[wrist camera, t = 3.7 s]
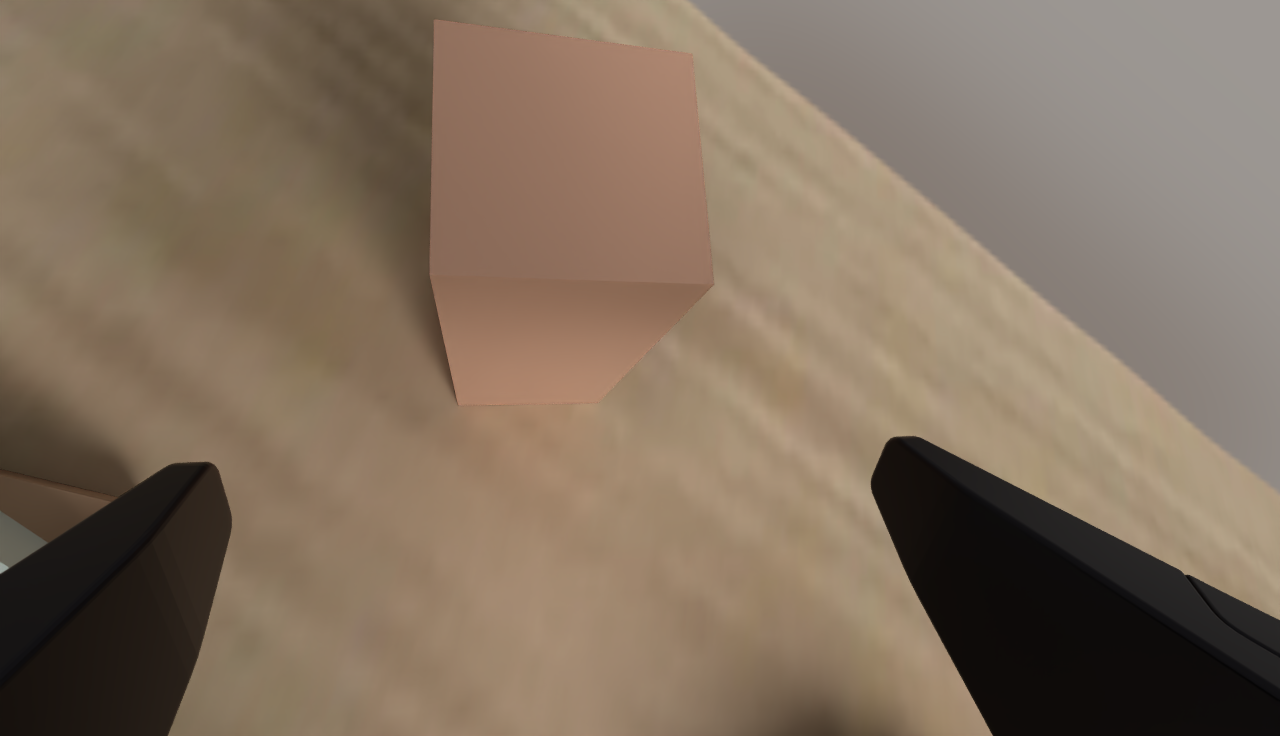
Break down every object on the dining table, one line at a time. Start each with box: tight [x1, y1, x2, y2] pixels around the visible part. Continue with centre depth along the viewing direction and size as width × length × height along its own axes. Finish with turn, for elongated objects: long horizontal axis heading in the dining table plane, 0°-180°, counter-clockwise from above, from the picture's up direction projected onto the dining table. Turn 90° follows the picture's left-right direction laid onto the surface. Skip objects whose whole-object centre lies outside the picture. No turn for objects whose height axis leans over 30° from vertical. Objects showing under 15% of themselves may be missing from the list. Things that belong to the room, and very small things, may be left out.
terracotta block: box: [429, 19, 714, 406], centre depth 15 cm, size 4×4×11 cm
